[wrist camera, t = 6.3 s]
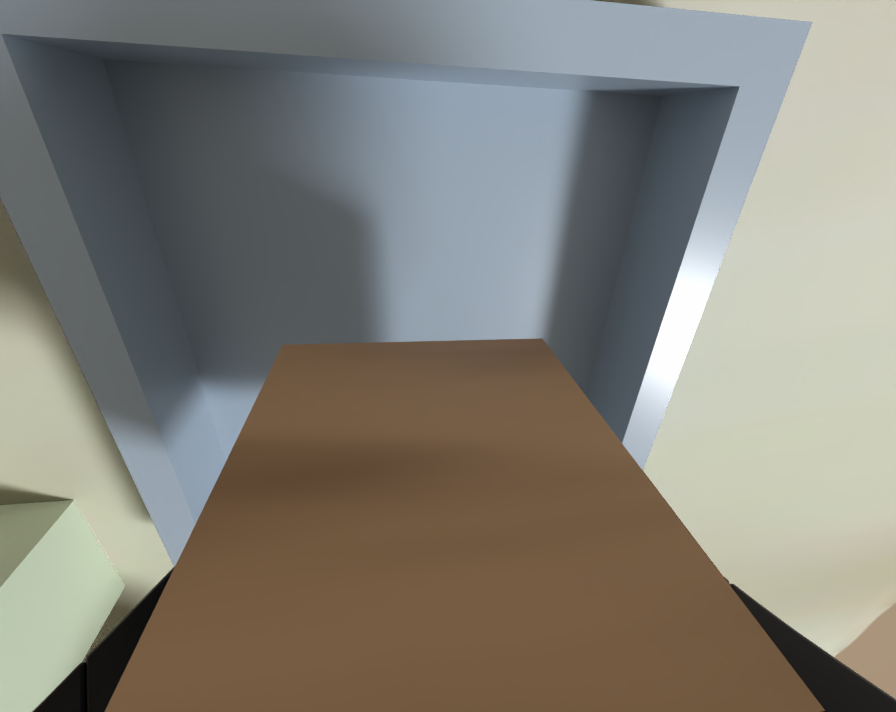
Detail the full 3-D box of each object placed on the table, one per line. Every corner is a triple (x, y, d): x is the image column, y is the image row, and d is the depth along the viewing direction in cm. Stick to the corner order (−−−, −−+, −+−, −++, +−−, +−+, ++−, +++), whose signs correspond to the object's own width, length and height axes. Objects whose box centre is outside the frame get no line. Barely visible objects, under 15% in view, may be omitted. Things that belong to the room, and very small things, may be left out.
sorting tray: (571, 507, 17) (603, 573, 15) (229, 536, 16) (198, 618, 13) (698, 51, 10) (813, 21, 7) (44, -4, 8) (-127, -71, 5)
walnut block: (512, 509, 10) (645, 905, 5) (314, 526, 10) (229, 1002, 4) (542, 338, 8) (853, 746, 3) (282, 344, 7) (8, 910, 2)
